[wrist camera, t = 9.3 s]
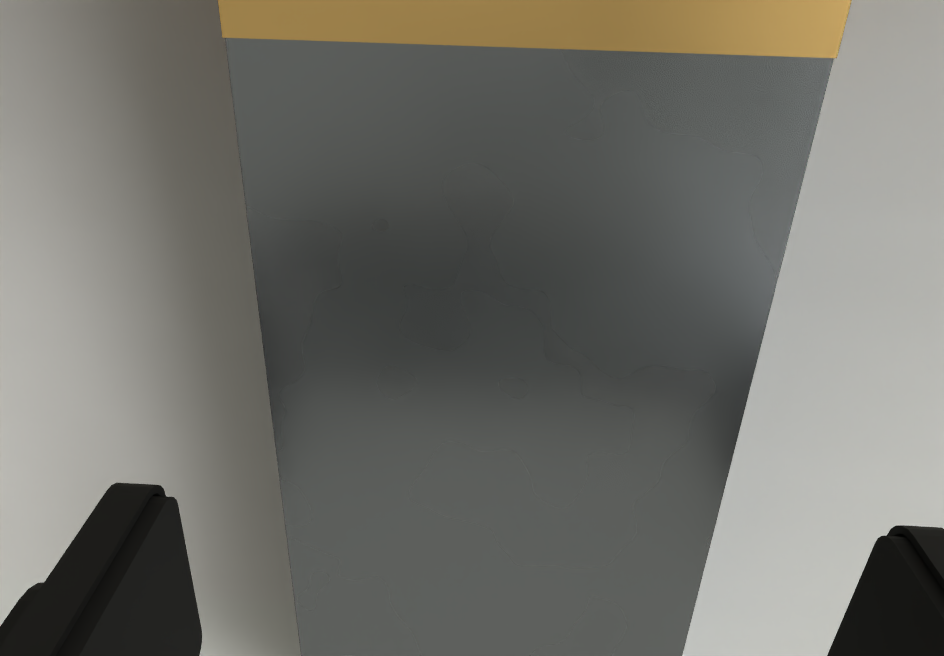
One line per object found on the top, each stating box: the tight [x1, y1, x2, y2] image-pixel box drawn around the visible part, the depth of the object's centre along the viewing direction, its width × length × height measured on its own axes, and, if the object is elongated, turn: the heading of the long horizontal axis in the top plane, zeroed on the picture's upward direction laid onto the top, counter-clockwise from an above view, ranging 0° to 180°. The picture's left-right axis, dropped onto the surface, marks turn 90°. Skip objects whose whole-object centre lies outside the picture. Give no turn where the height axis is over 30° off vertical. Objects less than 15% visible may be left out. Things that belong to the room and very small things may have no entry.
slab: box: [218, 0, 852, 656], centre depth 12 cm, size 16×6×4 cm, turn 178°
